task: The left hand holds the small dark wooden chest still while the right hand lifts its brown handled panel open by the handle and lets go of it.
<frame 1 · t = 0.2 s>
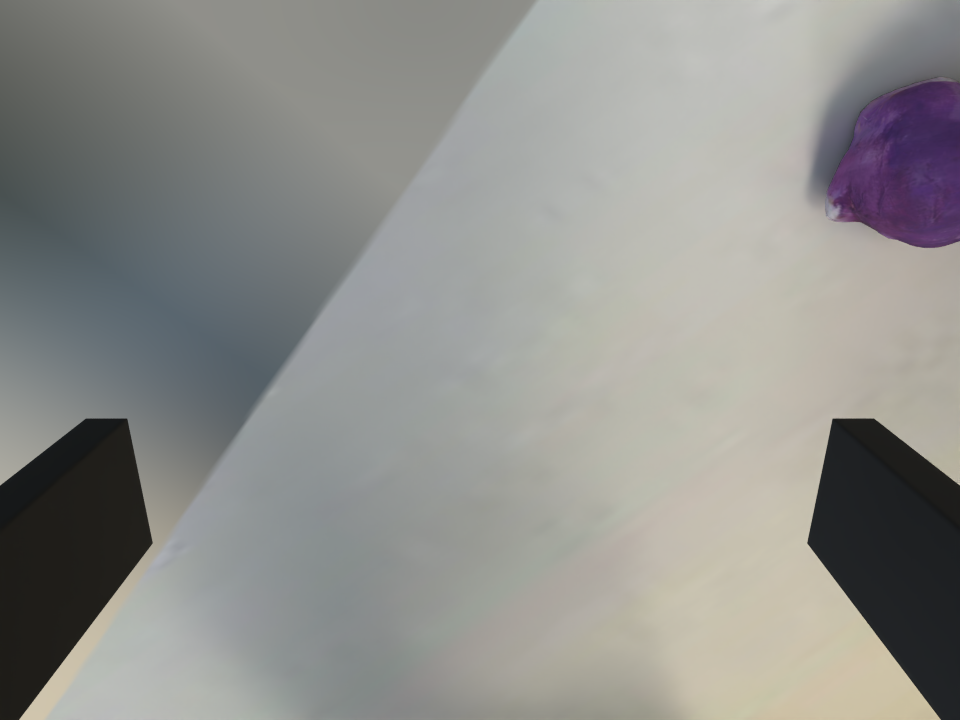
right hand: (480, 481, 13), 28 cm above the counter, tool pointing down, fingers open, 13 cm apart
figurine: (915, 144, 37), on the counter
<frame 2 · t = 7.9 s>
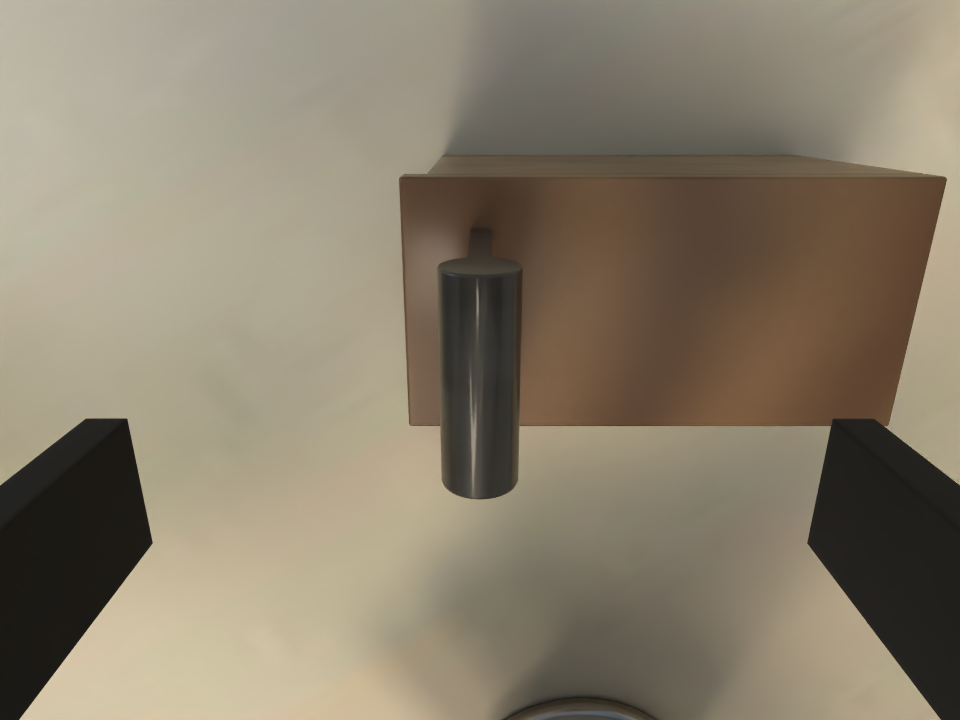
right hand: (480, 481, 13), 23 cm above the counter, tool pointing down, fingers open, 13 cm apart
brown handled panel: (686, 339, 21), point 15 cm above the counter, hinge at 0.0°
chest: (612, 248, 34), on the counter
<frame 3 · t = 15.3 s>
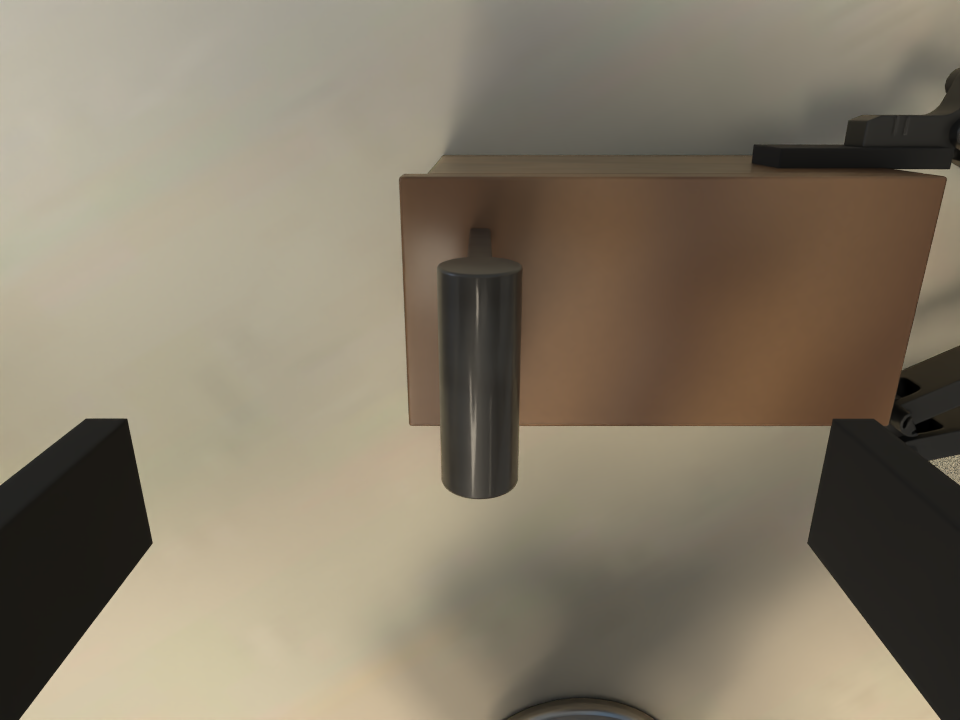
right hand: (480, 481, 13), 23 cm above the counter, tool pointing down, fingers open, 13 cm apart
brown handled panel: (686, 339, 21), point 15 cm above the counter, hinge at 0.0°
chest: (612, 248, 34), on the counter, touching left hand
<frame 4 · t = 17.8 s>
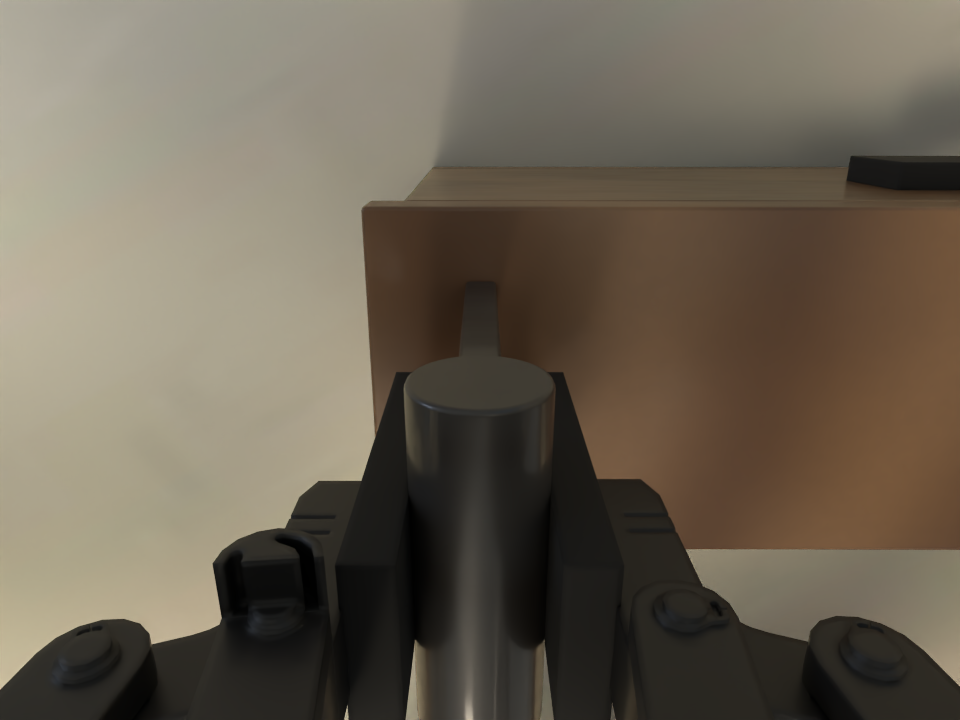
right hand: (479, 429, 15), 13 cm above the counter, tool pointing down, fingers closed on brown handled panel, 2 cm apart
brown handled panel: (796, 458, 14), point 15 cm above the counter, hinge at -0.1°, touching right hand
chest: (647, 283, 27), on the counter, touching left hand
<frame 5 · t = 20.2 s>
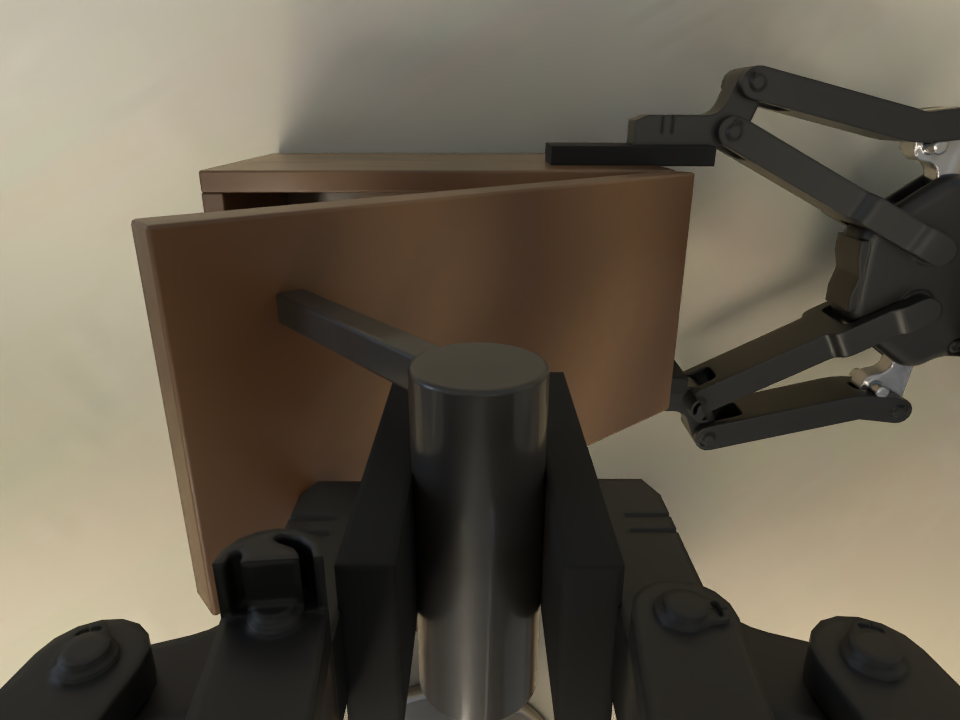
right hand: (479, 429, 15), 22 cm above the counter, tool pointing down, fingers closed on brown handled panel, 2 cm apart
left hand: (544, 270, 29), fingers closed on chest, 9 cm apart
brown handled panel: (585, 382, 17), point 20 cm above the counter, hinge at 38.4°, touching right hand
chest: (445, 243, 35), on the counter, touching left hand
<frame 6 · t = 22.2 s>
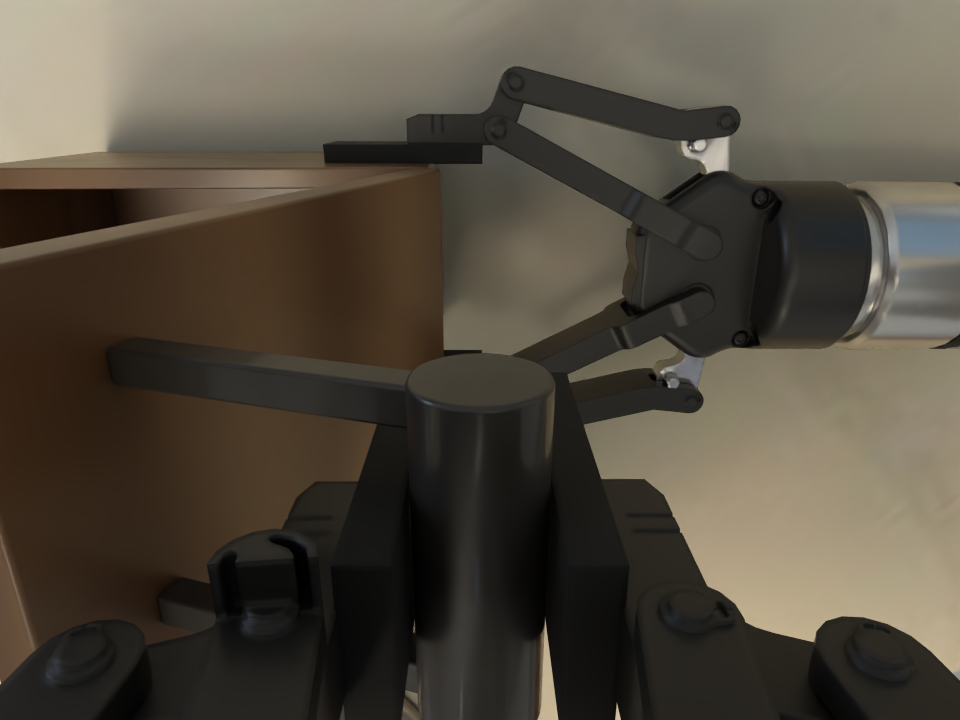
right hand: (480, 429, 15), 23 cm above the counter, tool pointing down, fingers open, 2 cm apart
left hand: (339, 265, 30), fingers closed on chest, 9 cm apart
brown handled panel: (434, 383, 17), point 21 cm above the counter, hinge at 70.1°
chest: (276, 240, 36), on the counter, touching left hand
when the left hand's fingers open (7 cm above the counter, at t = 26.3 s): chest stays where it is, on the counter.
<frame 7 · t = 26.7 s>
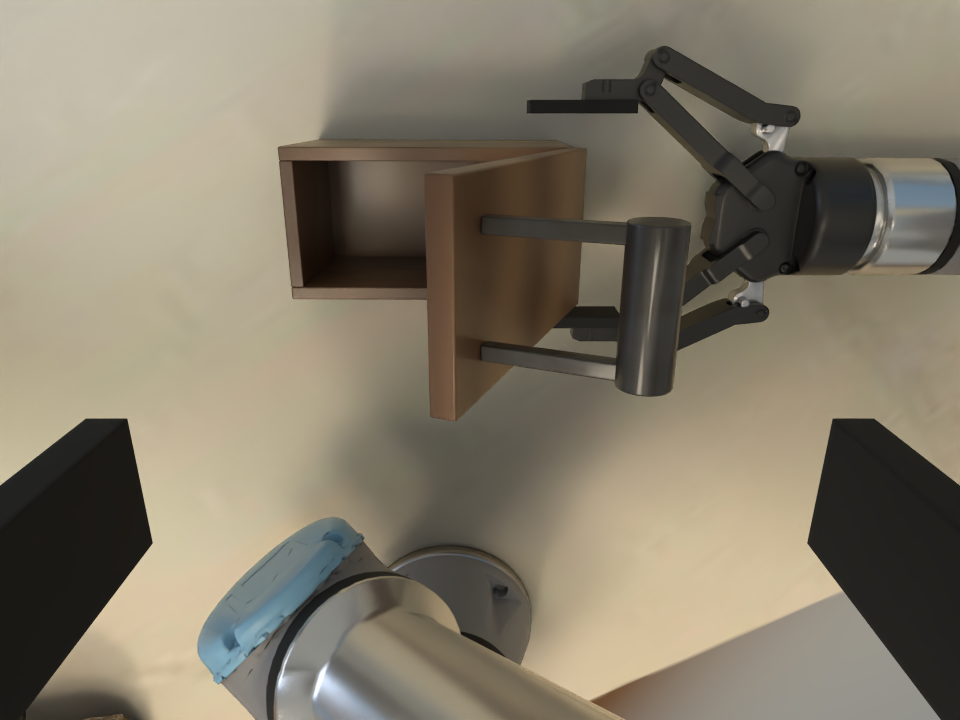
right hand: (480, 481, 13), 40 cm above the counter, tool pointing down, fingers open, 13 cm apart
left hand: (525, 217, 44), fingers open, 13 cm apart
brown handled panel: (601, 264, 31), point 21 cm above the counter, hinge at 67.4°
chest: (438, 204, 50), on the counter
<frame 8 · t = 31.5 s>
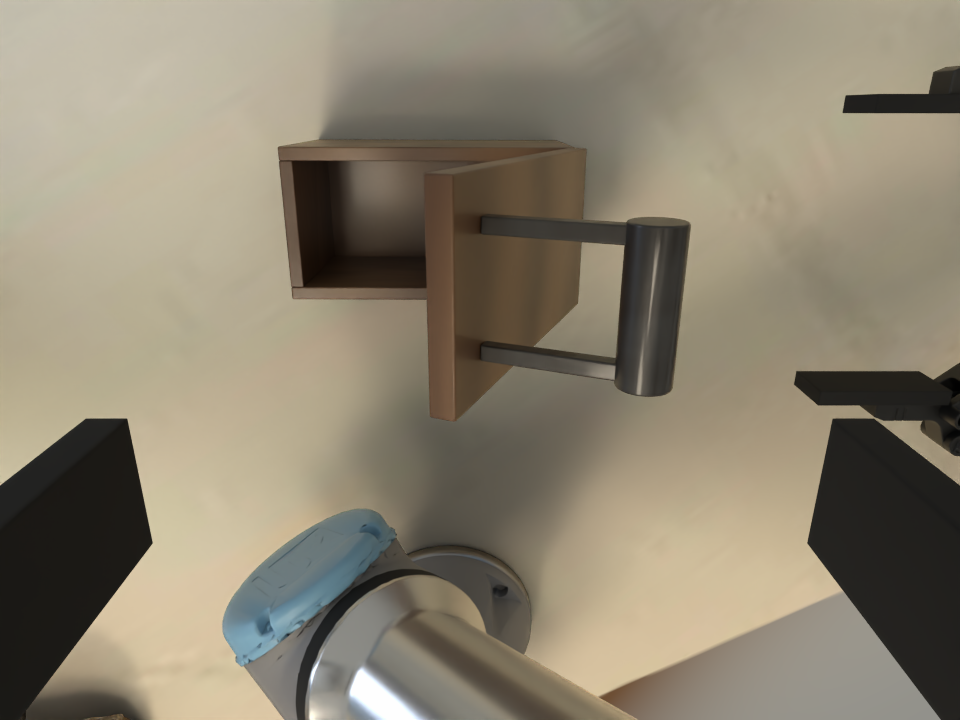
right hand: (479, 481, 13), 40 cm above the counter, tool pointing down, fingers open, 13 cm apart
brown handled panel: (600, 264, 31), point 21 cm above the counter, hinge at 67.4°
chest: (438, 204, 50), on the counter
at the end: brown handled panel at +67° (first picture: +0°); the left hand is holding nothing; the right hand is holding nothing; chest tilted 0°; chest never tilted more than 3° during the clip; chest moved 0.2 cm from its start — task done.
